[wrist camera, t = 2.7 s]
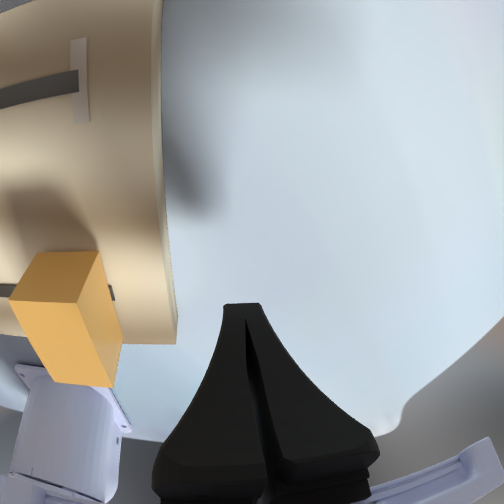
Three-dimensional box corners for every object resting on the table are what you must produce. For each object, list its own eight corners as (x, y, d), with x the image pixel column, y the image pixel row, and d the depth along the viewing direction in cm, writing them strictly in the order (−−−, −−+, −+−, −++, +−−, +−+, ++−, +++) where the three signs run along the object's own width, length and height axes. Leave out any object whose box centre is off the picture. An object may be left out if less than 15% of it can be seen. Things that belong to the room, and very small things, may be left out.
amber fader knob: (123, 336, 14) (113, 387, 12) (69, 334, 14) (54, 382, 12) (99, 250, 12) (76, 303, 9) (37, 252, 11) (8, 300, 9)
